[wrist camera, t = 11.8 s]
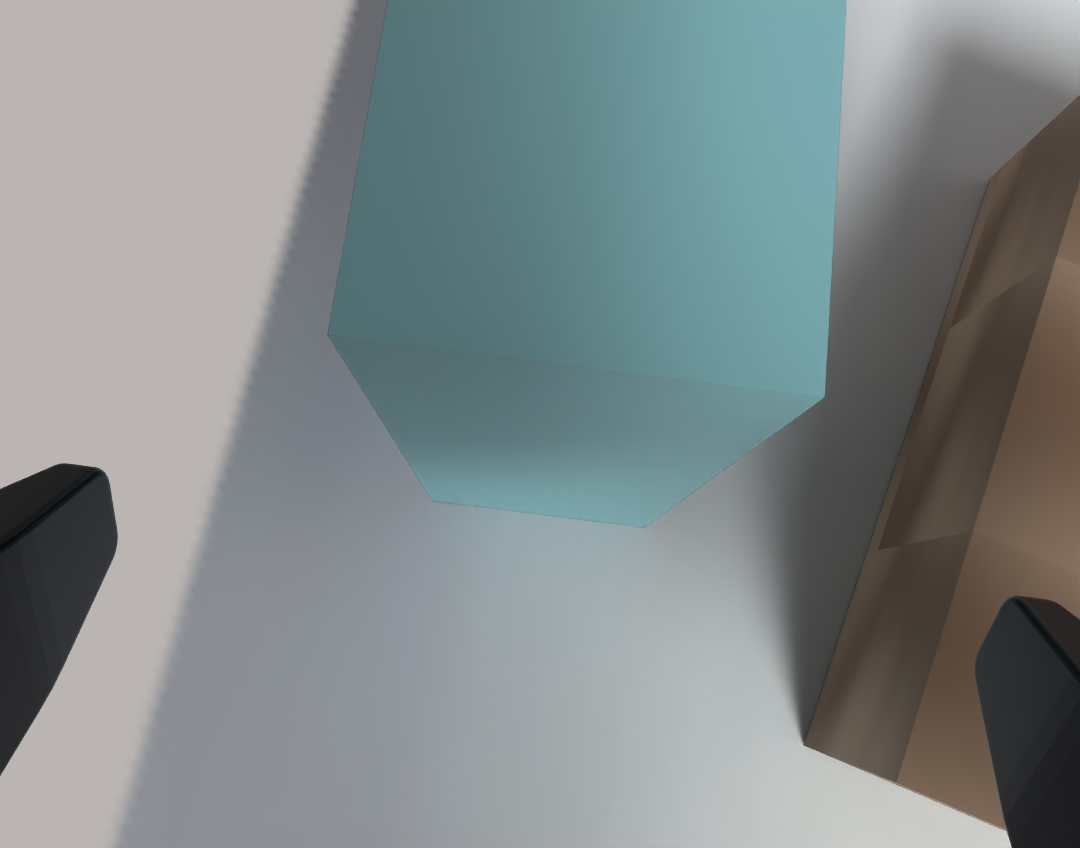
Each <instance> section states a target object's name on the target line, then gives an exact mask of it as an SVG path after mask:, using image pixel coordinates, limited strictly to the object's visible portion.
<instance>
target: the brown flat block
mask: <svg viewBox="0 0 1080 848" xmlns="http://www.w3.org/2000/svg"><path fill="white" fill-rule="evenodd" d="M1017 595H1019V596H1026V597H1033V598H1041V599H1048V600H1052V601H1054V602H1057V603H1058V604H1060V605H1061V606H1063V607H1064V608H1065V609H1067V610H1068V611H1069V612H1070V613H1072V614H1073V615H1074V616H1076V617H1077V618H1078V619H1080V96H1079V97H1077V98H1076V99H1075V100H1074V101H1073V102H1072V103H1071V104H1070V105H1069V106H1068V107H1067V108H1066V109H1065V110H1063V111H1062V112H1061V113H1060V114H1059V115H1058V116H1057V117H1056V118H1055V119H1054V120H1053V121H1052V122H1051V123H1049V124H1048V125H1047V126H1046V127H1045V128H1044V129H1043V130H1042V131H1041V132H1040V133H1039V134H1038V135H1037V136H1035V137H1034V138H1033V139H1032V140H1031V141H1030V142H1029V143H1028V144H1027V145H1026V146H1025V147H1024V148H1023V149H1022V150H1020V151H1019V152H1018V153H1017V154H1016V155H1015V156H1014V157H1013V158H1012V159H1011V160H1010V161H1009V162H1008V163H1006V164H1005V165H1004V166H1003V167H1002V168H1001V169H1000V170H999V171H998V172H997V173H996V174H995V175H994V176H992V177H991V178H990V180H989V183H988V186H987V189H986V192H985V195H984V198H983V201H982V204H981V208H980V211H979V214H978V217H977V220H976V223H975V226H974V229H973V232H972V235H971V238H970V241H969V244H968V247H967V250H966V253H965V256H964V259H963V262H962V265H961V268H960V271H959V274H958V277H957V280H956V283H955V286H954V289H953V293H952V296H951V299H950V302H949V305H948V308H947V311H946V314H945V317H944V320H943V323H942V326H941V329H940V332H939V335H938V338H937V341H936V344H935V347H934V350H933V353H932V356H931V359H930V362H929V365H928V368H927V371H926V375H925V378H924V381H923V384H922V387H921V390H920V393H919V396H918V399H917V402H916V405H915V408H914V411H913V414H912V417H911V420H910V423H909V426H908V429H907V432H906V435H905V438H904V441H903V444H902V447H901V450H900V453H899V456H898V460H897V463H896V466H895V469H894V472H893V475H892V478H891V481H890V484H889V487H888V490H887V493H886V496H885V499H884V502H883V505H882V508H881V511H880V514H879V517H878V520H877V523H876V526H875V529H874V532H873V535H872V538H871V542H870V545H869V548H868V551H867V554H866V557H865V560H864V563H863V566H862V569H861V572H860V575H859V578H858V581H857V584H856V587H855V590H854V593H853V596H852V599H851V602H850V605H849V608H848V611H847V614H846V617H845V620H844V623H843V627H842V630H841V633H840V636H839V639H838V642H837V645H836V648H835V651H834V654H833V657H832V660H831V663H830V666H829V669H828V672H827V675H826V678H825V681H824V684H823V687H822V690H821V693H820V696H819V699H818V702H817V705H816V708H815V712H814V715H813V718H812V721H811V724H810V727H809V730H808V733H807V736H806V739H805V742H804V745H805V746H807V747H809V748H812V749H814V750H816V751H819V752H821V753H823V754H826V755H828V756H830V757H833V758H835V759H838V760H840V761H842V762H845V763H847V764H849V765H852V766H854V767H856V768H859V769H861V770H863V771H866V772H868V773H871V774H873V775H875V776H878V777H880V778H882V779H885V780H887V781H889V782H892V783H894V784H896V785H899V786H901V787H904V788H906V789H908V790H911V791H913V792H915V793H918V794H920V795H922V796H925V797H927V798H929V799H932V800H934V801H937V802H939V803H941V804H944V805H946V806H948V807H951V808H953V809H955V810H958V811H960V812H962V813H965V814H967V815H969V816H972V817H974V818H977V819H979V820H981V821H984V822H986V823H988V824H991V825H993V826H995V827H998V828H1000V829H1002V830H1005V831H1007V829H1006V826H1005V822H1004V819H1003V815H1002V810H1001V806H1000V802H999V797H998V793H997V788H996V783H995V778H994V773H993V768H992V762H991V757H990V752H989V747H988V742H987V737H986V732H985V727H984V722H983V717H982V712H981V707H980V702H979V697H978V692H977V687H976V682H975V675H974V665H975V659H976V655H977V652H978V650H979V648H980V646H981V644H982V642H983V640H984V638H985V636H986V634H987V632H988V630H989V628H990V627H991V625H992V623H993V621H994V619H995V617H996V615H997V613H998V611H999V609H1000V607H1001V606H1002V604H1003V603H1004V601H1006V600H1007V599H1008V598H1010V597H1012V596H1017Z"/></svg>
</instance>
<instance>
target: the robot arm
mask: <svg viewBox="0 0 1080 848" xmlns="http://www.w3.org/2000/svg"><path fill="white" fill-rule="evenodd" d="M117 535H118V534H117V526H116V520H115V514H114V508H113V502H112V495H111V490H110V483H109V480H108V477H107V475H106V474H105V472H103V471H102V470H100V469H99V468H96V467H89V466H82V465H75V464H58V465H55V466H53V467H50V468H48V469H46V470H43V471H41V472H39V473H36V474H34V475H32V476H29V477H27V478H25V479H22V480H20V481H18V482H15V483H13V484H11V485H8V486H6V487H4V488H2V489H0V775H1V774H2V772H3V770H4V769H5V767H6V765H7V764H8V762H9V760H10V759H11V757H12V756H13V754H14V752H15V751H16V749H17V747H18V746H19V744H20V742H21V741H22V739H23V737H24V735H25V734H26V732H27V731H28V729H29V727H30V726H31V724H32V723H33V721H34V719H35V718H36V716H37V714H38V712H39V711H40V709H41V707H42V706H43V704H44V702H45V700H46V699H47V697H48V695H49V693H50V692H51V690H52V688H53V686H54V684H55V682H56V680H57V678H58V676H59V674H60V672H61V670H62V668H63V666H64V664H65V662H66V660H67V657H68V655H69V653H70V651H71V649H72V647H73V645H74V642H75V640H76V638H77V636H78V634H79V631H80V629H81V627H82V625H83V623H84V621H85V618H86V616H87V614H88V612H89V610H90V608H91V605H92V603H93V601H94V599H95V597H96V595H97V592H98V590H99V588H100V586H101V584H102V581H103V579H104V577H105V575H106V573H107V570H108V569H109V566H110V564H111V562H112V560H113V557H114V554H115V551H116V547H117V538H118V536H117ZM974 675H975V682H976V687H977V692H978V697H979V702H980V707H981V712H982V717H983V722H984V727H985V732H986V737H987V742H988V747H989V752H990V757H991V762H992V768H993V773H994V778H995V783H996V788H997V793H998V797H999V802H1000V806H1001V810H1002V815H1003V819H1004V822H1005V826H1006V829H1007V833H1008V836H1009V840H1010V843H1011V847H1012V848H1080V619H1078V618H1077V617H1076V616H1074V615H1073V614H1072V613H1070V612H1069V611H1068V610H1067V609H1065V608H1064V607H1063V606H1061V605H1060V604H1058V603H1057V602H1054V601H1052V600H1048V599H1041V598H1033V597H1026V596H1019V595H1017V596H1012V597H1010V598H1008V599H1007V600H1006V601H1004V603H1003V604H1002V606H1001V607H1000V609H999V611H998V613H997V615H996V617H995V619H994V621H993V623H992V625H991V627H990V628H989V630H988V632H987V634H986V636H985V638H984V640H983V642H982V644H981V646H980V648H979V650H978V652H977V655H976V659H975V665H974Z"/></svg>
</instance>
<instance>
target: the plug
mask: <svg viewBox="0 0 1080 848" xmlns="http://www.w3.org/2000/svg"><path fill="white" fill-rule="evenodd" d="M845 19H846V0H388V3H387V8H386V14H385V19H384V25H383V31H382V36H381V42H380V47H379V53H378V58H377V64H376V69H375V75H374V80H373V86H372V91H371V97H370V102H369V108H368V113H367V119H366V124H365V130H364V136H363V141H362V147H361V152H360V158H359V163H358V169H357V174H356V180H355V185H354V191H353V196H352V202H351V207H350V213H349V218H348V224H347V229H346V235H345V240H344V246H343V252H342V257H341V263H340V268H339V274H338V279H337V285H336V290H335V296H334V301H333V307H332V312H331V318H330V323H329V329H328V334H327V335H328V336H329V338H330V339H331V341H332V343H333V344H334V346H335V347H336V349H337V350H338V352H339V354H340V355H341V357H342V358H343V360H344V362H345V363H346V365H347V366H348V368H349V370H350V371H351V373H352V374H353V376H354V378H355V379H356V381H357V382H358V384H359V385H360V387H361V389H362V390H363V392H364V393H365V395H366V397H367V398H368V400H369V401H370V403H371V405H372V406H373V408H374V409H375V411H376V413H377V414H378V416H379V417H380V419H381V420H382V422H383V424H384V425H385V427H386V428H387V430H388V432H389V433H390V435H391V436H392V438H393V440H394V441H395V443H396V444H397V446H398V448H399V449H400V451H401V452H402V454H403V455H404V457H405V459H406V460H407V462H408V463H409V465H410V467H411V468H412V470H413V471H414V473H415V475H416V476H417V478H418V479H419V481H420V483H421V484H422V486H423V487H424V489H425V490H426V492H427V494H428V495H429V497H430V498H431V500H432V501H437V502H445V503H453V504H461V505H469V506H477V507H485V508H492V509H500V510H508V511H516V512H524V513H532V514H540V515H548V516H556V517H564V518H572V519H580V520H588V521H596V522H604V523H612V524H620V525H628V526H636V527H646V526H647V525H648V524H650V523H651V522H653V521H654V520H655V519H657V518H658V517H659V516H661V515H662V514H664V513H665V512H666V511H668V510H669V509H671V508H672V507H673V506H675V505H676V504H678V503H679V502H680V501H682V500H683V499H684V498H686V497H687V496H689V495H690V494H691V493H693V492H694V491H696V490H697V489H698V488H700V487H701V486H702V485H704V484H705V483H707V482H708V481H709V480H711V479H712V478H714V477H715V476H716V475H718V474H719V473H721V472H722V471H723V470H725V469H726V468H727V467H729V466H730V465H732V464H733V463H734V462H736V461H737V460H739V459H740V458H741V457H743V456H744V455H745V454H747V453H748V452H750V451H751V450H752V449H754V448H755V447H757V446H758V445H759V444H761V443H762V442H764V441H765V440H766V439H768V438H769V437H770V436H772V435H773V434H775V433H776V432H777V431H779V430H780V429H782V428H783V427H784V426H786V425H787V424H788V423H790V422H791V421H793V420H794V419H795V418H797V417H798V416H800V415H801V414H802V413H804V412H805V411H807V410H808V409H809V408H811V407H812V406H813V405H815V404H816V403H818V402H819V401H820V400H822V399H823V398H825V385H826V367H827V348H828V330H829V312H830V293H831V275H832V257H833V238H834V220H835V202H836V183H837V165H838V147H839V129H840V110H841V92H842V74H843V55H844V37H845Z"/></svg>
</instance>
